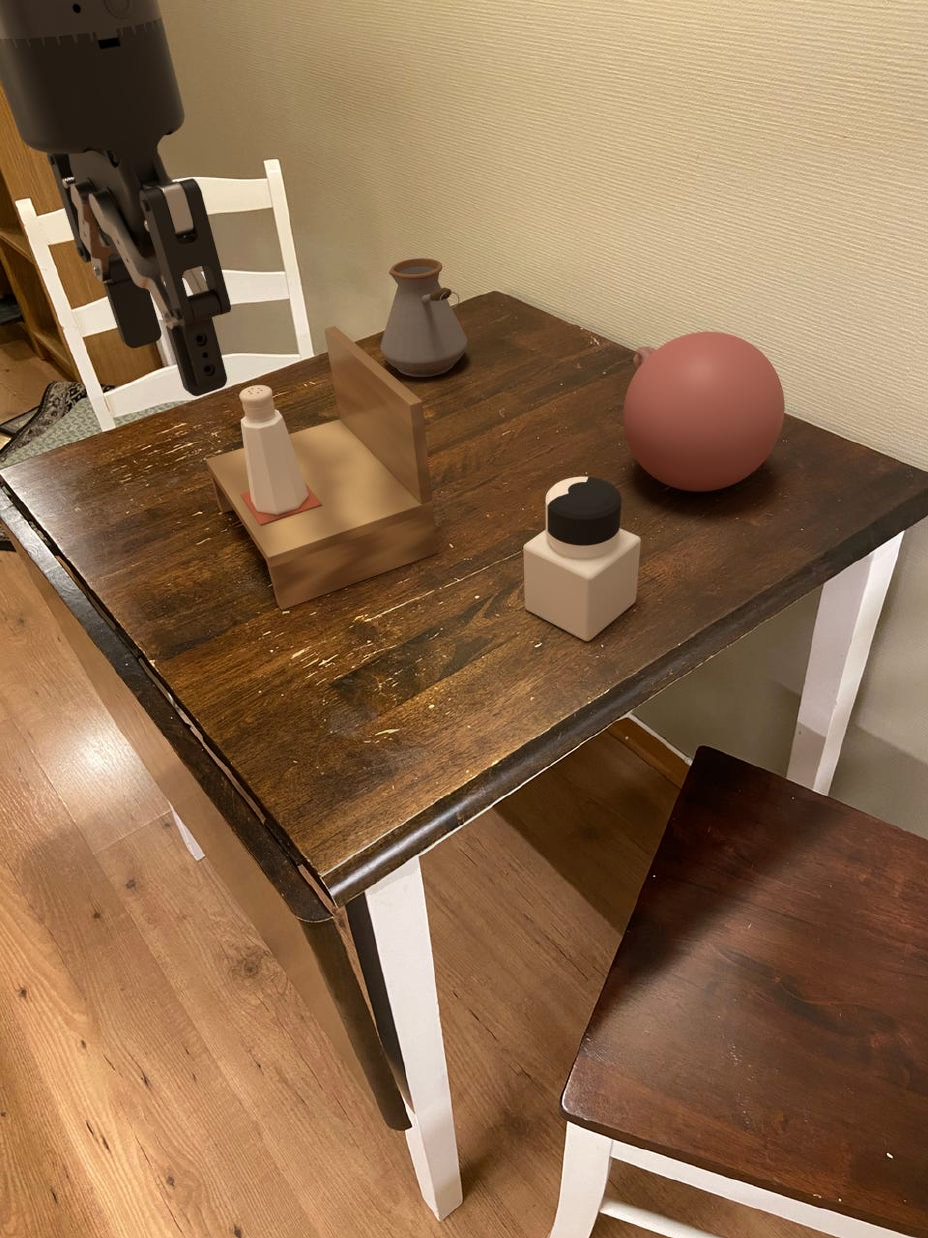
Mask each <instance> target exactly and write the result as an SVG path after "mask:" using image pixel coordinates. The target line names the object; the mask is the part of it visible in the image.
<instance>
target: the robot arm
mask: <svg viewBox="0 0 928 1238" xmlns="http://www.w3.org/2000/svg"><path fill="white" fill-rule="evenodd" d="M0 83H1V86H2V89H3V91H4V94H5V97H6V101H7V104H8V106H9V109H10V112H11V114H12V117H13V120H14V123H15V126H16V129H17V132H18V135H19V137H20V139H21V140H22V142H23V143H24V144H25V145H26V146H27V147H28V148H31V149H32V150H35V151H38V152H41V153H42V152H43V153H46V159H47V162H48V163H49V165H50V167H51V171H52V174H53V176H54V180H55V183H56V187H57V189H58V192H59V195H60V196H59V197H60V198H61V202H62V205H63V207H64V208H63V209H64V211H65V214H66V218H67V220H68V224H69V227H70V230H71V233H72V237H73V239H74V242H75V246H76V252H77V255H78V256H79V257H80V259H81V260H82V261H83V263H85V264H87V263H90V262H91V271H92V274H93V275H94V277H96V278H97V280H98V282H99V283H103V282H104V283H103V287H104V291H105V293H106V297H107V300H108V303H109V306H110V309H111V313H112V315H113V319H114V322H115V324H116V327H117V331H118V334H119V336H120V339H121V341H122V343H123V344H125V345H126V346H127V347H128V348H130V349H138V348H141V347H144V346H147V345H150V344H153V343H156V342H158V341H159V340H161V337H162V335H163V334H162V329H161V325H160V322H159V318H158V315H157V312H156V308H155V305H156V307H157V309H158V311H159V313H160V316H161V318H162V320H163V322H164V323H165V324H166V325H165V329H166V332H167V335H168V338H169V342H170V345H171V349H172V353H173V356H174V360H175V363H176V368H177V370H178V373H179V376H180V381H181V384H182V387H183V389H184V390H185V391H186V392H187V393H189V394H190V395H191V396H193V397H200V396H203V395H206V394H209V393H212V392H214V391H217V390H220V389H223V388H224V387H225V386H226V385H227V382H228V375H227V371H226V367H225V363H224V360H223V355H222V352H221V347H220V344H219V339H218V336H217V332H216V328H215V323H214V319H213V318H215V317H218V316H223V315H225V314H228V313H231V311H232V305H231V304H232V303H231V300H230V299H231V298H230V296H229V292H228V289H227V285H226V281H225V277H224V274H223V273H224V272H223V269H222V265H221V262H220V257H219V254H218V250H217V246H216V242H215V239H214V235H213V231H212V226H211V223H210V218H209V215H208V211H207V207H206V204H205V200H204V196H203V192H202V189H201V187H200V185H199V183H198V182H197V181H196V179H195V178H193V177H192V178H187V179H183V180H179V181H177V180H176V181H173V179H172V178H171V177H170V176H169V175H168V172H167V169H166V167H165V165H164V162H163V160H162V157H161V155H160V153H159V147H158V145H159V144H160V142H161V140H162V139H163V138H164V137H165V136H171V135H173V134H174V133H176V132H177V131H179V130H180V128H181V127H182V126H183V124H184V123H185V122H184V121H185V117H186V115H185V110H184V105H183V101H182V96H181V92H180V87H179V84H178V80H177V76H176V71H175V67H174V63H173V59H172V55H171V50H170V46H169V42H168V37H167V34H166V29H165V24H164V19H163V18H162V11H161V8H160V3H159V0H0ZM200 267H201V269H202V271H201V269H200ZM202 272H203V273H202ZM184 280H185V281H186V283H187V285H188V287H189V289H190V292H192V294H191V295H188V294H187V290H186V287H185V283H184ZM153 300H154V302H153ZM154 303H155V305H154Z"/></svg>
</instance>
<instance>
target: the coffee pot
mask: <svg viewBox="0 0 928 1238" xmlns="http://www.w3.org/2000/svg"><path fill="white" fill-rule="evenodd" d="M442 270H443V264H442V262H441V261H439V260H437V259H434V258H424V257H421V258H420V257H419V258H410V259H409V258H408V259H406V260H405V259H404V260H402V261H398V262H396V263H394V265H392V266H391V268H390V269H389V271H388V274H389V275H390V276H391V277H392V279H393V280H394V281H395V283H396V284H397V287H396V291H395V295H394V298H393V301H392V304H391V309H390V310H389V315H388V318H387V321H386V325H385V329H384V331H383V336H382V339H381V342H380V346H379V347H380V351H381V352H380V353H381V354H382V356H383V357H384V359H385V361H386V362H387V363H388V364H389V365H390V366H392V367H393V368H395V369H396V370H397V371H398V372H399V373H401V374H403V375H406V376H408V377H416V378H425V377H434V376H438V375H442V374H444V373H447V372H448V371H450V370H451V369H452V368H453V367H454V366H455V364H457V363H458V361H459V360H460V359H461V358H462V356H464V354H465V352H466V349H467V345H468V338H467V336H466V333H465V331H464V330H463V328H462V325H461V324H460V322H459V320H458V318H457V315H456V314H455V312H454V310H453V309H454V308H456V307H457V306H458V305H459V303H460V296H459V294H458V293H457V292H455V291H452V289H450V288H447V287H442V286H441V284H440V282H439V278H440V272H442ZM452 294H455V295H456V297H457V298H458V299H457V303H456V304H455V305H454V306H451V304H450V302H449V300H448V299H449V298H450V296H451V295H452Z"/></svg>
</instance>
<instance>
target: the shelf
mask: <svg viewBox="0 0 928 1238" xmlns="http://www.w3.org/2000/svg"><path fill="white" fill-rule="evenodd" d="M324 337H325V341H326V347H327V353H328V354H327V355H328V359H329V367H330V372H331V378H332V382H333V389H334V395H335V400H336V401H335V402H336V408H337V413H338V418H339V419H336V420H333V421H332V420H331V421H328V422H326V423H322V424H319V425H316V426H312V427H308V428H306V429H302V430H299V431H296V432H291V433H288V434H289V437H290V440H291V443H292V446H293V449H294V452H295V455H296V458H297V461H298V464H299V467H300V470H301V473H302V476H303V479H304V482H305V485H306V488H307V491H308V494H309V496H308V498H307V499H306V500H305V501H304V502H303V504H302V505H301V506H300V507H299V508H298V509H295V510H292V511H289V512H285V513H282V514H279V515H275V514H269V513H263V512H258V511H257V510H256V508H255V506H254V504H253V503H252V501H251V495H250V488H249V480H248V473H247V466H246V458H245V451H244V447H242V448H239V449H236V450H232V451H229V452H226V453H222V454H219V455H215V456H212V457H208V458H206V459H205V464H206V468H207V471H208V474H209V478H210V480H211V484H212V488H213V491H214V494H215V498H216V502H217V505H218V508H219V510H220V511H221V513H222V514H225V513H228V512H231V511H234V513H235V514H236V516H237V517H238V518H239V521H240V522H241V524H242V525H243V527H244V528H245V530H246V532H247V533H248V534H249V537H250V538H251V539H252V541H253V542H254V544H255V545H256V547H257V549H258V550H259V552H260V553H261V555H262V557H263V558H264V560H265V561H266V566H267V568H268V573H269V577H270V580H271V585H272V588H273V592H274V596H275V600H276V604H277V605H278V607H279V608H280V610H281V611H284V610H286V609H288V608H291V607H294V606H296V605H299V604H302V603H305V602H308V601H311V600H314V599H316V598H319V597H321V596H324V595H327V594H331V593H333V592H335V591H337V590H338V591H339V590H341V589H344V588H346V587H349V586H351V585H355V584H357V583H361V582H362V581H366V580H368V579H371V578H373V577H376V576H379V575H381V574H382V575H383V574H384V573H387V572H389V571H393V570H396V569H397V568H401V567H403V566H407V565H409V564H412V563H414V562H417V561H420V560H422V559H425V558H428V557H431V556H433V555H437V554H438V553H439V552H438V541H437V533H436V532H437V531H436V522H435V513H434V501H433V495H432V494H433V492H432V483H431V474H430V463H429V454H428V443H427V432H426V422H425V415H424V413H425V412H424V404H423V400H422V399H421V398H420V397H418V396H417V395H416V394H415V393H413V392H412V391H411V390H410V389H409V388H408V387H406V386H405V385H404V384H403V383H402V382H400V380H398V378H396V377H395V376H394V375H392V374H391V373H390V372H389V371H388V370H387V369H385V367H383V366H382V365H381V364H380V363H379V362H377V360H375V359H374V358H372V356H370V355H369V354H368V353H367V352H366V351H365V350H363V348H361V347H360V346H359V345H358V344H356V343H355V342H354V341H353V340H352V339H351V338H349V336H347V335H346V333H344V332H342V330H340V329H339V328H338V327H337V326H335V325H333V326H330V327H326V328H325V327H324Z"/></svg>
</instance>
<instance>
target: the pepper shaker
mask: <svg viewBox="0 0 928 1238" xmlns="http://www.w3.org/2000/svg"><path fill="white" fill-rule="evenodd" d="M238 396H239V399H240V402H241V403H242V404H241V405H242V410H243V412H244V416H243V417H242V418H241V419H240V428H241V435H242V443H243V448H244V451H245V458H246V466H247V473H248V480H249V488H250V495H251V501H252V503H253V504H254V506H255V508H256V510H257V511H258V512H263V513H269V514H275V515H279V514H282V513H285V512H289V511H292V510H295V509H298V508H299V507H300V506H301V505H302V504H303V502H304V501H305V500H306V499H307V498H308V496H309V494H308V491H307V488H306V485H305V482H304V479H303V476H302V473H301V470H300V467H299V464H298V461H297V458H296V455H295V452H294V449H293V446H292V443H291V440H290V437H289V434H290V433H289V430H288V428H287V425H286V422H285V419H284V417H283V415H282V413H280V411H279V409H275V401H274V399H273V389H272V388H271V387H269V386H267V385H263V384H256V385H251V386H249V387H246V388H243V389H242V390H241V391H240V393H239V395H238Z"/></svg>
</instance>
